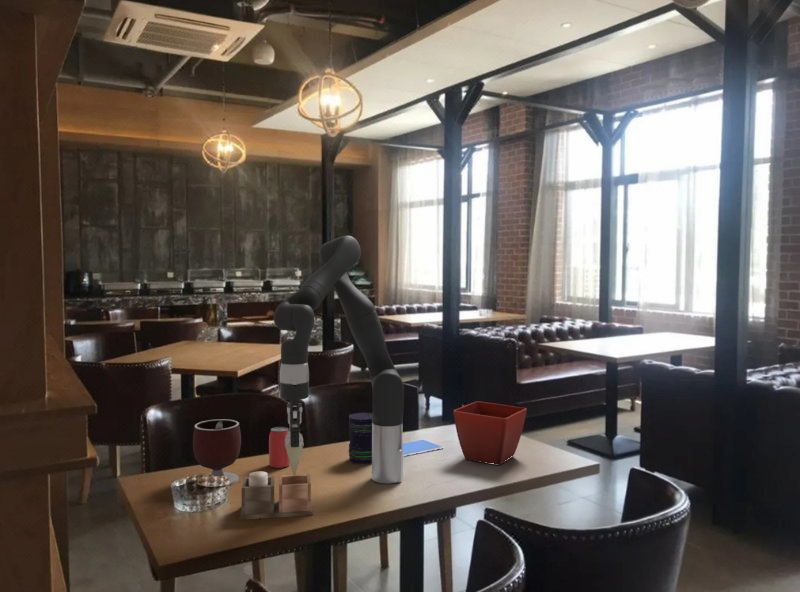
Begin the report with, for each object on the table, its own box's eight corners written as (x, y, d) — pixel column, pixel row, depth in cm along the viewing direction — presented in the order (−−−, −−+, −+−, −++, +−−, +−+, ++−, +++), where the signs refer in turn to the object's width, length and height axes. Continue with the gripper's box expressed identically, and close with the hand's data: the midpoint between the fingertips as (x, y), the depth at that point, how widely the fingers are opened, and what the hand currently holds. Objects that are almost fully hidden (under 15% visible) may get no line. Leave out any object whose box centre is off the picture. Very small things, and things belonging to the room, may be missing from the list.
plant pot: (527, 456, 222) (528, 407, 221) (504, 470, 205) (505, 418, 205) (476, 447, 232) (477, 400, 231) (451, 460, 216) (452, 410, 215)
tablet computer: (399, 459, 218) (399, 455, 218) (379, 450, 229) (379, 447, 229) (444, 450, 230) (444, 446, 229) (423, 442, 240) (423, 438, 240)
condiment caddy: (311, 502, 177) (311, 466, 177) (312, 515, 168) (312, 477, 168) (241, 506, 174) (241, 469, 173) (239, 519, 165) (239, 481, 164)
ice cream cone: (285, 471, 174) (285, 416, 173) (304, 471, 174) (304, 416, 173) (283, 478, 169) (283, 421, 168) (303, 477, 169) (303, 420, 168)
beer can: (265, 467, 207) (264, 430, 207) (276, 461, 213) (276, 425, 213) (282, 469, 205) (282, 432, 204) (293, 464, 211) (293, 427, 210)
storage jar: (367, 466, 209) (367, 420, 208) (342, 461, 214) (342, 416, 213) (384, 458, 217) (384, 414, 217) (360, 454, 222) (360, 411, 222)
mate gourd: (190, 476, 198) (190, 411, 197) (237, 471, 203) (236, 408, 203) (196, 493, 184) (195, 423, 183) (245, 486, 189) (245, 419, 188)
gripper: (280, 375, 177) (280, 437, 177) (279, 385, 163) (280, 452, 163) (307, 374, 178) (307, 436, 179) (310, 384, 164) (310, 450, 165)
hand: (294, 443), depth 171 cm, fingers closed on ice cream cone, 5 cm apart
